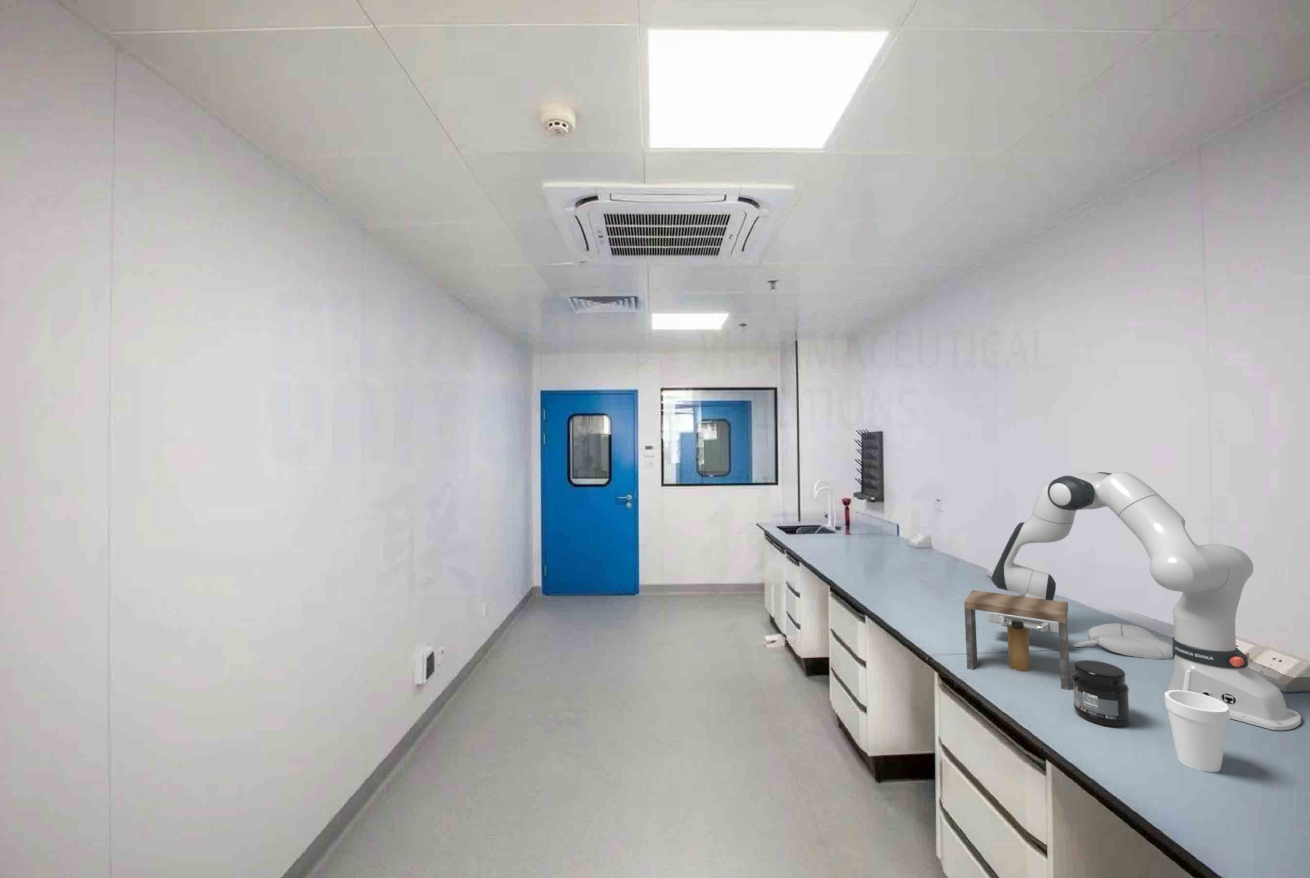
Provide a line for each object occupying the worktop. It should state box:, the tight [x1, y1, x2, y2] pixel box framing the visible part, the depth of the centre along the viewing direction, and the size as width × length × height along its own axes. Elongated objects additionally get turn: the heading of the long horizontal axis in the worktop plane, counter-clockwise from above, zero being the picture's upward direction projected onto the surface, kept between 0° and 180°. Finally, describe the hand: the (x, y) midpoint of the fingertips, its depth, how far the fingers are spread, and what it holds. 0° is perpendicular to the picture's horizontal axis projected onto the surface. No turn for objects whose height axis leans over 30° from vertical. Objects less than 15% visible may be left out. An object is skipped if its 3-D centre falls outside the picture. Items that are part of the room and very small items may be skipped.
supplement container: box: [1072, 659, 1131, 727], centre depth 130 cm, size 10×10×12 cm
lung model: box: [1071, 622, 1174, 660], centre depth 169 cm, size 7×17×25 cm
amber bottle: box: [1006, 620, 1031, 672], centre depth 159 cm, size 5×5×14 cm
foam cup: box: [1164, 690, 1231, 773], centre depth 111 cm, size 10×9×13 cm
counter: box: [963, 589, 1071, 691], centre depth 157 cm, size 24×14×20 cm, turn 50°
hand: (1022, 626), depth 168 cm, fingers open, 8 cm apart
